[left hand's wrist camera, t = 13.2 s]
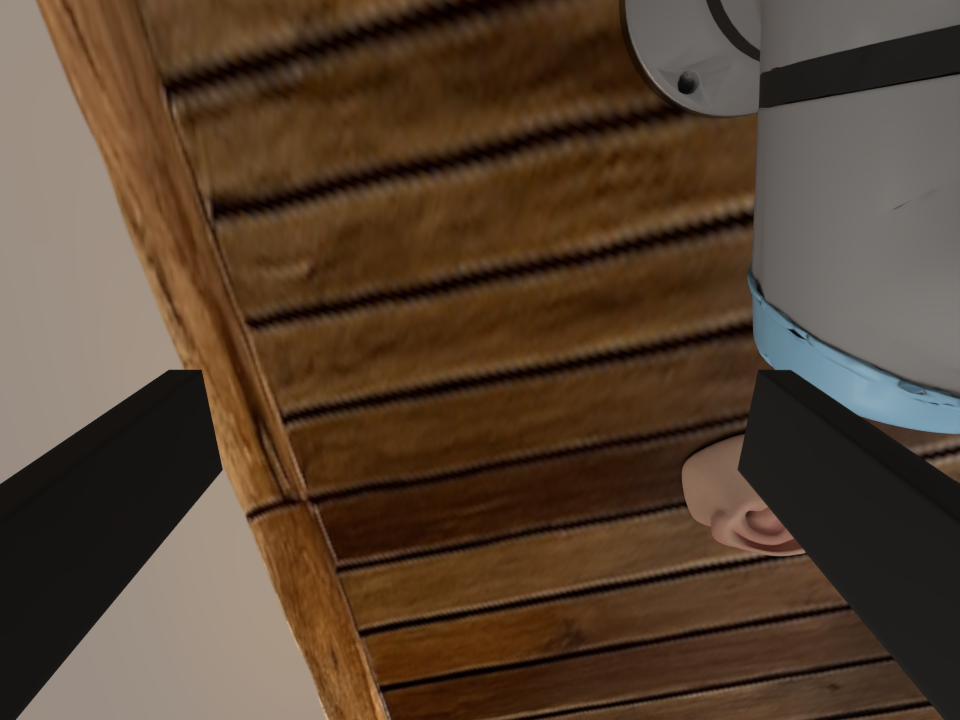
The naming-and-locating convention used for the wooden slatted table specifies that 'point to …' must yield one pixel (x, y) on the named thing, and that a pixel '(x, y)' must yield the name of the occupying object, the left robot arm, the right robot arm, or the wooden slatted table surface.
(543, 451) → the wooden slatted table surface
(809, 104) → the left robot arm
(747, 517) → the anatomical model
